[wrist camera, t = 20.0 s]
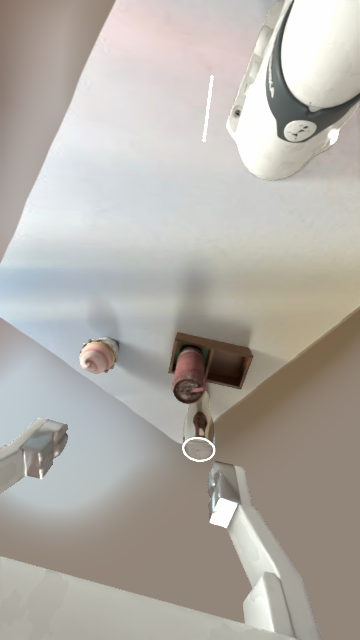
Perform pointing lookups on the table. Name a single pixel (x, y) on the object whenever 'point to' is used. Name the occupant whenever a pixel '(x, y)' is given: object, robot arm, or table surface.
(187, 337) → the tray
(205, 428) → the beer glass
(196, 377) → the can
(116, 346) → the cupcake
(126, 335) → the table surface
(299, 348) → the table surface
